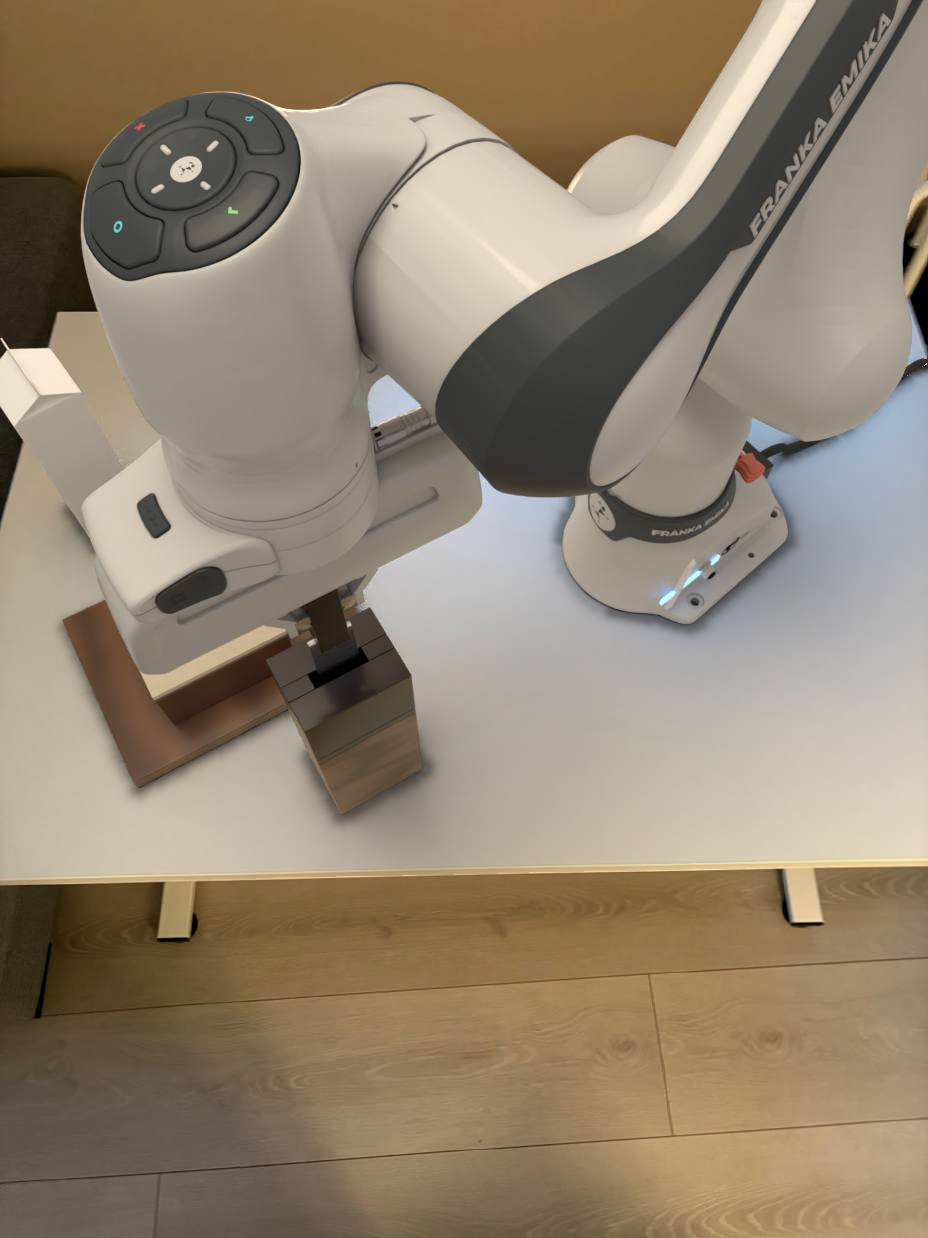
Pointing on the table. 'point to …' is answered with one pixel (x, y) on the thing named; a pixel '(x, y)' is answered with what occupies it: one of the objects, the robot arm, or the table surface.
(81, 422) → the milk
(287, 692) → the knife block
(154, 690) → the cake
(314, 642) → the knife
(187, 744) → the board
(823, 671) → the table surface
